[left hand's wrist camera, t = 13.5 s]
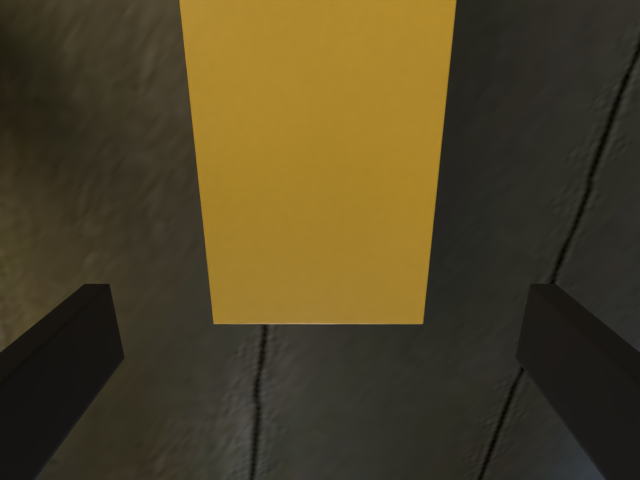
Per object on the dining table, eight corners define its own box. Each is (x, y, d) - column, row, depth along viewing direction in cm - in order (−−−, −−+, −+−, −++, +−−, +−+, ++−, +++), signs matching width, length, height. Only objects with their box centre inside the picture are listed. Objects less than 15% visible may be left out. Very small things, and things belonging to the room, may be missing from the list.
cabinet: (227, -74, 23) (157, -200, 13) (409, -73, 23) (477, -200, 13) (248, 247, 30) (213, 324, 20) (388, 247, 30) (423, 324, 20)
